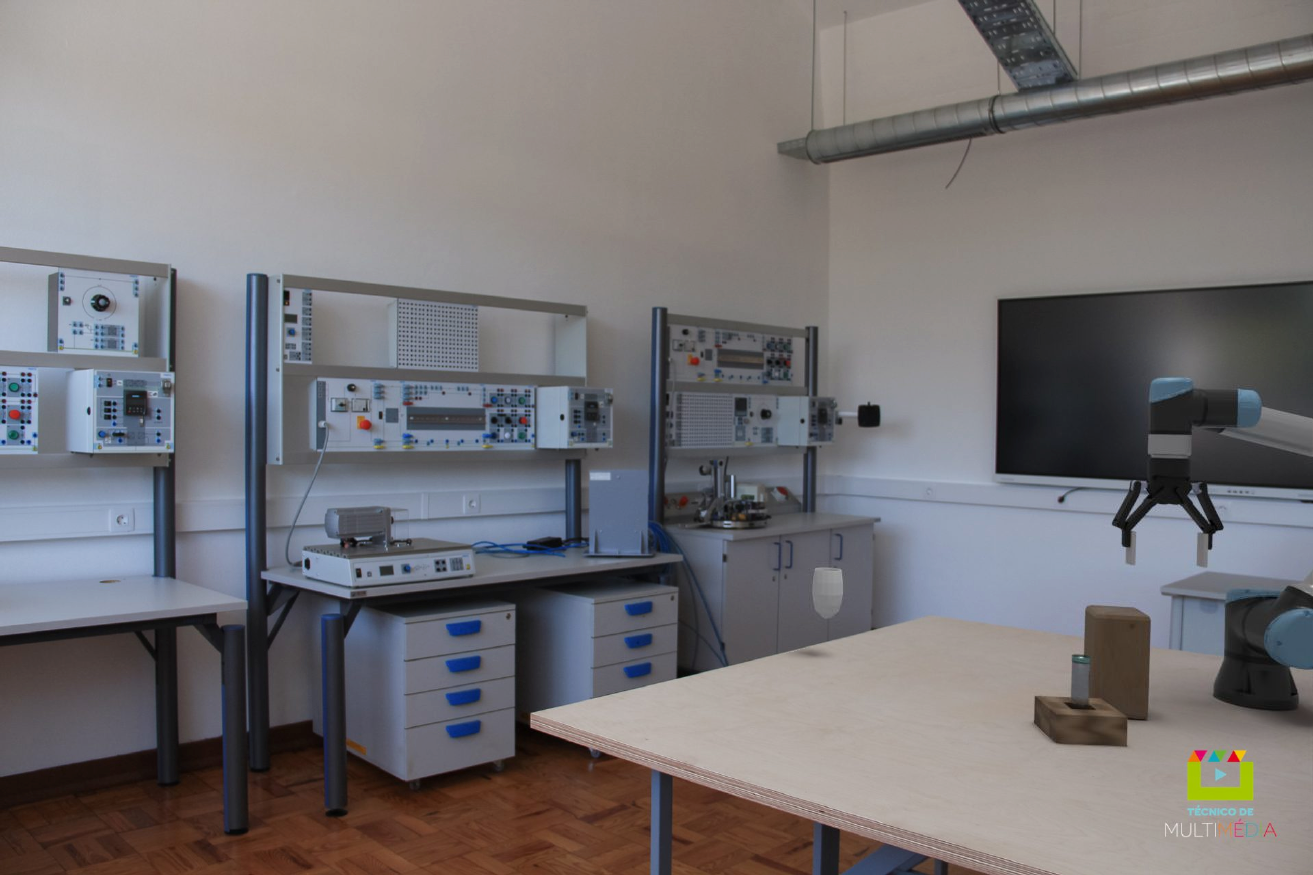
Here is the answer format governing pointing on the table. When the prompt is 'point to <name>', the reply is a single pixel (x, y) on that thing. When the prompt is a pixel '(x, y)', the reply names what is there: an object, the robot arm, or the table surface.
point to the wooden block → (1119, 657)
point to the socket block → (1080, 721)
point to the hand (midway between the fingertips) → (1166, 565)
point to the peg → (1080, 682)
